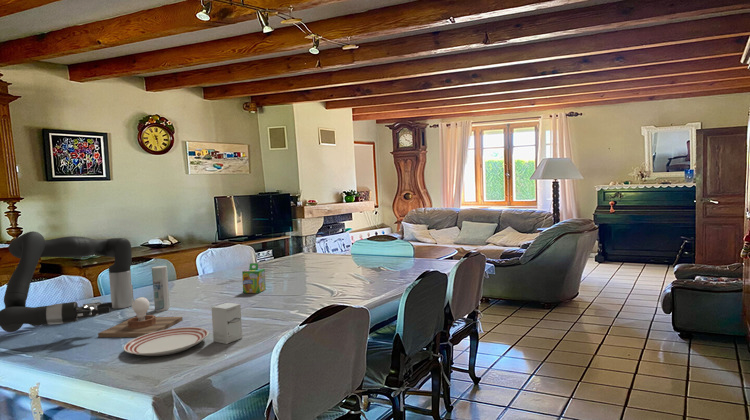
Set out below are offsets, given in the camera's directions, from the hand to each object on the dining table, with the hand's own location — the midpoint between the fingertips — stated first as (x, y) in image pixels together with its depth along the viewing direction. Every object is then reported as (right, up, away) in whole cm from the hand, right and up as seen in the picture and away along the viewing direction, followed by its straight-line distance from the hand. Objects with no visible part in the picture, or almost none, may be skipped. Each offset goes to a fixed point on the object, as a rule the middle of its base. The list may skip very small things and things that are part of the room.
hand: (110, 307), depth 190 cm
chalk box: (+40, -5, +65) cm, 77 cm away
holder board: (+10, -9, +5) cm, 15 cm away
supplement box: (+51, -9, -16) cm, 54 cm away
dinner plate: (+31, -10, -20) cm, 39 cm away
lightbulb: (+10, -8, +4) cm, 14 cm away
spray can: (+5, -8, +34) cm, 36 cm away
